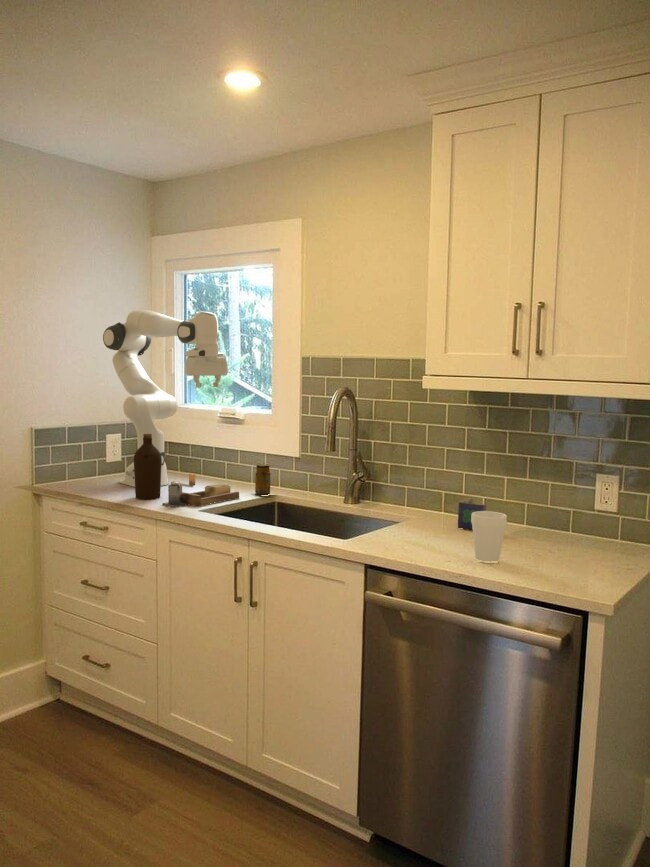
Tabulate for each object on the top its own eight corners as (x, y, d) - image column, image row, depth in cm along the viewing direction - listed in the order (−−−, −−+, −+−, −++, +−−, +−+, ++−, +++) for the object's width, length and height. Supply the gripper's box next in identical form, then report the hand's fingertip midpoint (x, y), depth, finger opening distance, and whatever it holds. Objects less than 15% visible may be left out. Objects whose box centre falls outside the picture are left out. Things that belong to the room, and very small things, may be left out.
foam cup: (464, 561, 199) (466, 515, 198) (477, 554, 207) (479, 509, 206) (497, 567, 194) (499, 519, 193) (509, 560, 202) (511, 514, 200)
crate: (204, 499, 283) (204, 485, 282) (219, 496, 289) (219, 483, 289) (215, 501, 279) (215, 487, 279) (230, 498, 286) (230, 485, 285)
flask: (486, 530, 237) (487, 498, 236) (483, 532, 234) (484, 499, 233) (459, 527, 241) (460, 495, 240) (455, 528, 239) (456, 496, 238)
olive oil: (166, 498, 282) (166, 434, 279) (140, 501, 276) (139, 435, 273) (155, 494, 290) (154, 432, 288) (129, 496, 284) (129, 433, 282)
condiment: (265, 492, 299) (265, 463, 298) (277, 495, 293) (277, 465, 292) (250, 494, 295) (250, 464, 294) (262, 497, 288) (262, 467, 287)
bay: (175, 502, 275) (175, 491, 274) (217, 494, 292) (217, 484, 292) (197, 506, 268) (197, 495, 267) (239, 498, 285) (239, 488, 285)
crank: (169, 484, 268) (169, 471, 268) (175, 483, 271) (175, 470, 270) (190, 488, 261) (190, 475, 261) (197, 487, 264) (197, 473, 264)
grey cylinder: (162, 505, 269) (162, 485, 268) (176, 502, 274) (176, 483, 274) (175, 507, 265) (175, 487, 264) (188, 505, 270) (188, 485, 269)
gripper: (220, 353, 299) (220, 386, 301) (182, 352, 283) (183, 387, 284) (231, 352, 296) (231, 387, 297) (193, 351, 279) (194, 387, 281)
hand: (207, 387), depth 290 cm, fingers open, 8 cm apart
